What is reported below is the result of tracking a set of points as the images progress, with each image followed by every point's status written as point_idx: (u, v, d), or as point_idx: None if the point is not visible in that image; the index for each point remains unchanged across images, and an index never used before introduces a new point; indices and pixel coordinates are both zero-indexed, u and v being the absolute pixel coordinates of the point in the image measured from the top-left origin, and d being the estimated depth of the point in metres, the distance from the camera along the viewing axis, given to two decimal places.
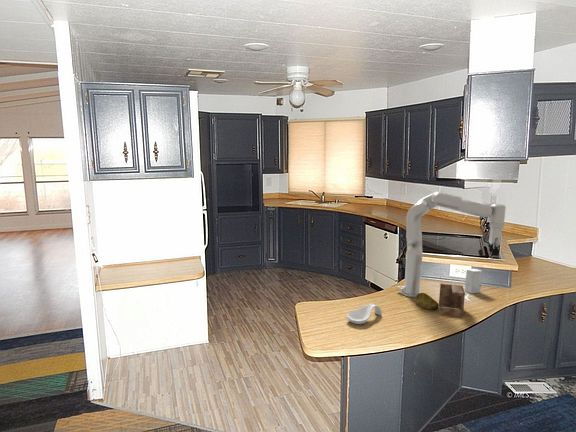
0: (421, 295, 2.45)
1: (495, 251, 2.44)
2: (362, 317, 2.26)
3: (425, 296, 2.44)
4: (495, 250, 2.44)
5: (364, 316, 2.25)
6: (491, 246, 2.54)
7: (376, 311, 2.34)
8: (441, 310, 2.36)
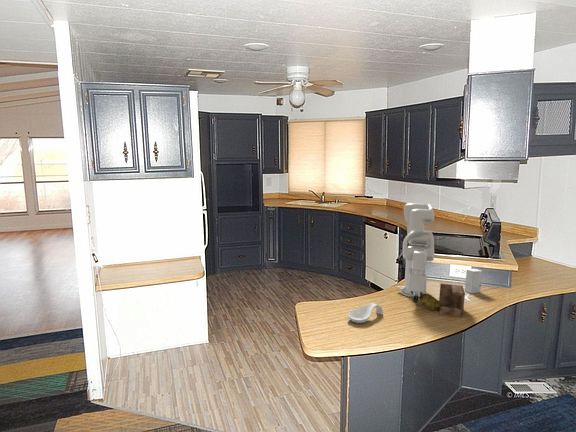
0: (425, 295, 2.45)
1: (418, 298, 2.46)
2: (363, 316, 2.27)
3: (429, 296, 2.44)
4: (418, 297, 2.46)
5: (365, 315, 2.27)
6: None
7: (377, 310, 2.35)
8: (441, 310, 2.36)
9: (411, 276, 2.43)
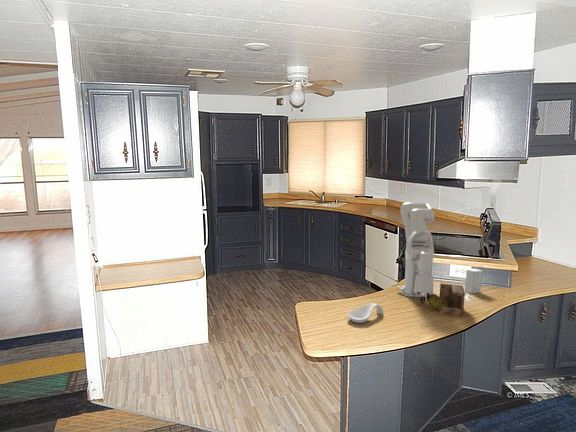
0: (431, 296, 2.44)
1: (425, 299, 2.45)
2: (363, 316, 2.27)
3: (435, 297, 2.43)
4: (425, 298, 2.45)
5: (365, 315, 2.27)
6: None
7: (378, 310, 2.35)
8: (441, 310, 2.36)
9: (418, 277, 2.42)
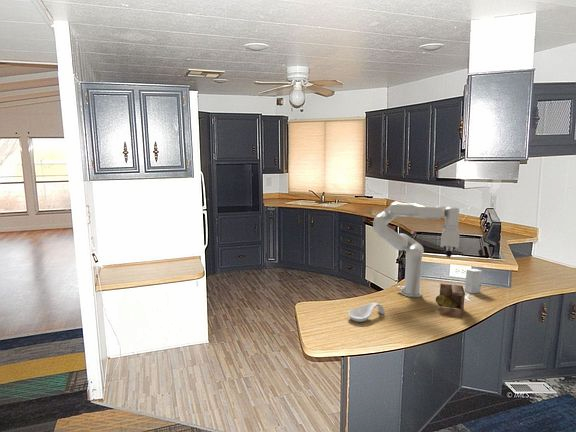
0: (441, 297, 2.43)
1: None
2: (364, 315, 2.28)
3: (445, 298, 2.42)
4: (451, 252, 2.55)
5: (366, 314, 2.28)
6: None
7: (379, 310, 2.36)
8: (441, 310, 2.36)
9: (444, 231, 2.52)
